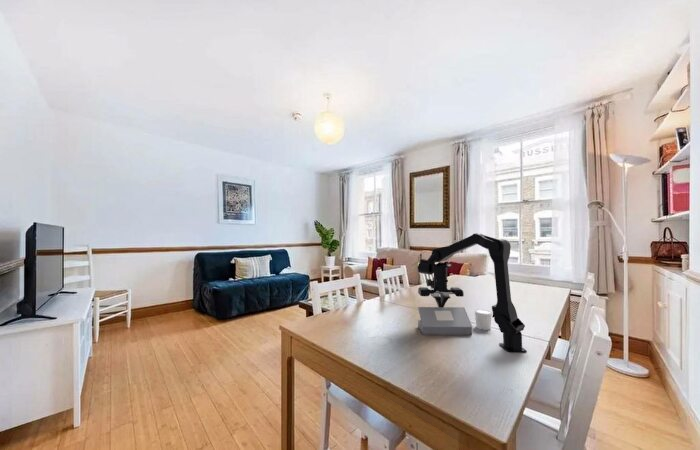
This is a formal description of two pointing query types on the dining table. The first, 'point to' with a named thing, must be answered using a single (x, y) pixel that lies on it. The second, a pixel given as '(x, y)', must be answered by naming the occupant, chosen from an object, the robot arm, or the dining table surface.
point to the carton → (444, 330)
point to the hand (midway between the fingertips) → (440, 310)
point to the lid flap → (444, 317)
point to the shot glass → (483, 319)
